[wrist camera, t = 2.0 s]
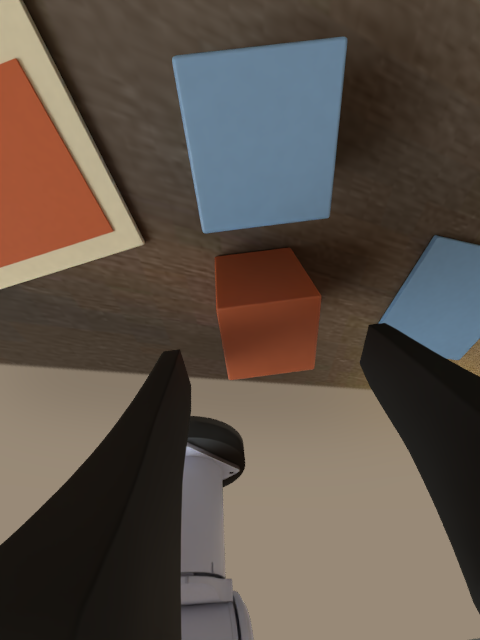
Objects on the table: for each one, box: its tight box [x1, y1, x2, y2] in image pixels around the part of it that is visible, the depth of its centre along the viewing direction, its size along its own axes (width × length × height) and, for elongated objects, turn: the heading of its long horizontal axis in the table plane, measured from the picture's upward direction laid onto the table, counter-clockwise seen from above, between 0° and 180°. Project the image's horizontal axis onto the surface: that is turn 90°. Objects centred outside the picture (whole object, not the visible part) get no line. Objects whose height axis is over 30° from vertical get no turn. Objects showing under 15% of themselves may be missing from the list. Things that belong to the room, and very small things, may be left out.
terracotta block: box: [215, 248, 322, 380], centre depth 13 cm, size 4×4×5 cm
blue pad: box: [378, 235, 480, 360], centre depth 17 cm, size 8×8×1 cm
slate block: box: [172, 36, 347, 233], centre depth 9 cm, size 4×4×5 cm
